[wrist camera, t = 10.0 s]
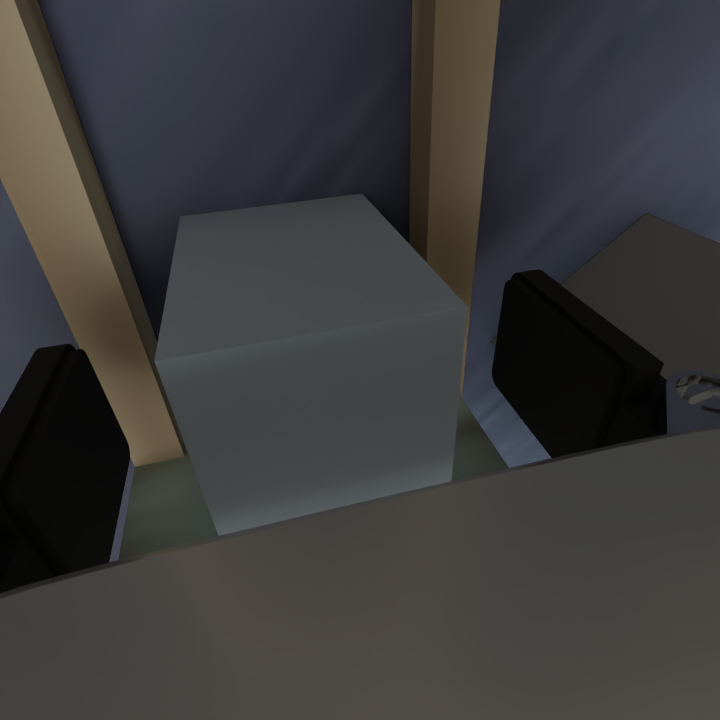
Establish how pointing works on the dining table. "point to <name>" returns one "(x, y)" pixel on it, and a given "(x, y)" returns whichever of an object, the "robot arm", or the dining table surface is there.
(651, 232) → the perfume bottle
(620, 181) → the dining table surface
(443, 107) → the track
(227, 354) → the grey rectangular block
